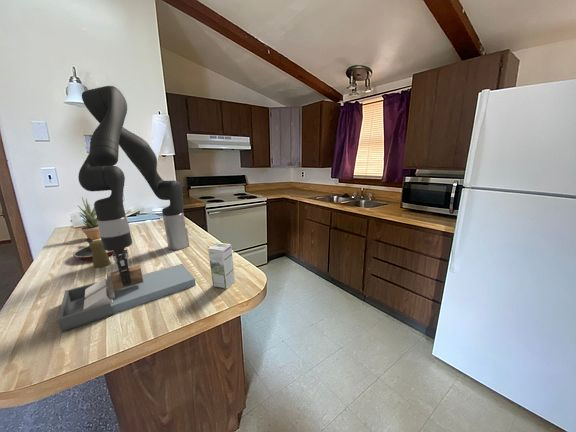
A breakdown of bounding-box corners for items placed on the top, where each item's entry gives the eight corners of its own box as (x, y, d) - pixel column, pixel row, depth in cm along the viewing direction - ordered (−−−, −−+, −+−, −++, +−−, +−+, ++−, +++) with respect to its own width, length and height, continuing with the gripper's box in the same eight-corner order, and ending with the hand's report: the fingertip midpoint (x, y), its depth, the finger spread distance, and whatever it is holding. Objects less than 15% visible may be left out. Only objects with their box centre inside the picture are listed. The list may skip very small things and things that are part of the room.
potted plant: (91, 236, 143) (81, 195, 136) (108, 235, 144) (99, 194, 137) (79, 242, 133) (67, 198, 127) (97, 240, 134) (87, 197, 128)
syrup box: (235, 281, 86) (232, 243, 82) (226, 289, 81) (222, 249, 77) (222, 278, 88) (217, 241, 84) (212, 287, 83) (207, 248, 79)
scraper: (139, 272, 86) (137, 259, 85) (145, 288, 75) (142, 274, 74) (108, 281, 81) (105, 267, 80) (110, 300, 70) (106, 284, 69)
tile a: (112, 293, 76) (105, 287, 74) (113, 302, 71) (106, 295, 70) (91, 306, 73) (84, 300, 72) (90, 316, 68) (83, 309, 67)
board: (183, 269, 97) (182, 263, 96) (195, 285, 84) (194, 278, 84) (110, 290, 83) (108, 284, 82) (112, 313, 70) (110, 306, 70)
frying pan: (79, 267, 102) (77, 259, 101) (65, 250, 122) (63, 243, 121) (129, 252, 116) (127, 245, 115) (109, 239, 136) (108, 233, 135)
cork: (101, 268, 100) (95, 243, 97) (89, 267, 101) (83, 243, 98) (114, 262, 105) (108, 238, 102) (103, 261, 106) (97, 238, 104)
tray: (110, 289, 83) (107, 279, 82) (112, 315, 70) (109, 303, 68) (68, 301, 77) (65, 290, 76) (62, 332, 63) (57, 319, 62)
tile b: (111, 283, 82) (105, 277, 80) (111, 291, 77) (105, 284, 76) (91, 295, 79) (85, 289, 78) (91, 304, 74) (84, 297, 73)
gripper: (132, 235, 70) (143, 287, 75) (127, 224, 81) (137, 271, 86) (100, 241, 66) (113, 296, 70) (99, 229, 77) (111, 278, 81)
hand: (126, 282), depth 78 cm, fingers closed on scraper, 3 cm apart
